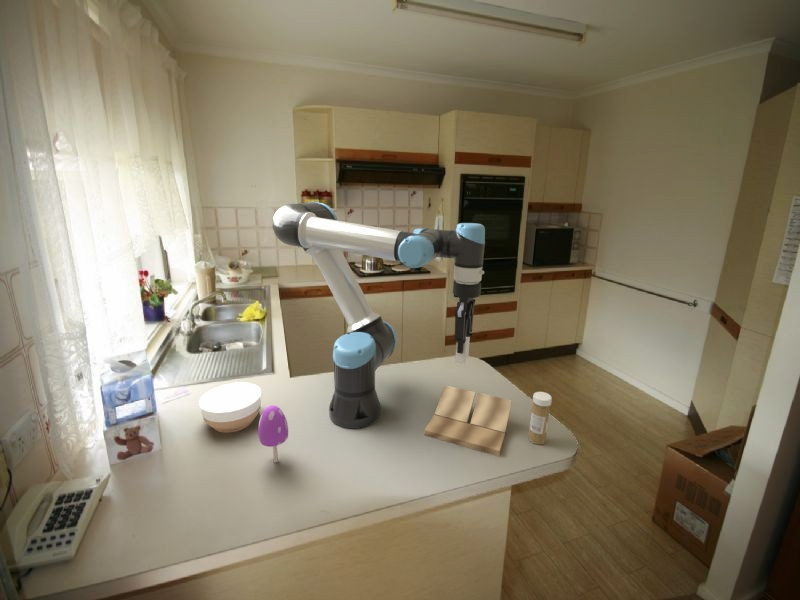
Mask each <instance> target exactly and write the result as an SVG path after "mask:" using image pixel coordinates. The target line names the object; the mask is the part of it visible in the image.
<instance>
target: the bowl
mask: <svg viewBox="0 0 800 600" xmlns="http://www.w3.org/2000/svg"><path fill="white" fill-rule="evenodd" d="M261 396H262V389H261V387H259V386H258V385H256V384H253V383H251V382H240V381H239V382H238V381H237V382H231V383H226V384H222V385H219V386H216V387H214V388H211V389H210V390H208V391H206V392H204V394H202V396H201V397H200V399H198V400H199V401H198V407H199V408H200V409H201V412H200V413H201V416H202V418H203V421H204V422H205V423H206V424H207V425H208V426H209V427H211V428H213V429H214V430H215V431H216V432H218V433H227V434H229V433H235V432H238V431H240V430H241V431H242V430H244V429H245V428H247V427H248V426H250V425H251V424H252V423H253V422H254V419H255V418H256V417H257V415H258V414H259V412H260V410H261V405H262V400H261V399H262V397H261Z"/></svg>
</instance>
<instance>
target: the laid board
mask: <svg viewBox="0 0 800 600" xmlns="http://www.w3.org/2000/svg"><path fill="white" fill-rule="evenodd" d="M423 435H424V436H426V437H430V438H433V439H437V440H440V441H444V442H448V443H450V444H454V445H459V446H460V447H461V446H462V447H466V448H468V449H472V450H476V451H479V452H481V453H482V452H483V453H486V454H490V455H494V456H497V457H500V454H501V451H502V447H503V443H504V440H505V437H506V432H505V433H503V432H499V431H495V430H491V429H487V428H483V427H480V426H476V425H472V424H470V423H464V422H460V421H456V420H453V419H449V418H445V417H441V416H437V415H435V414H433V416H432V417H431V419H430V421H429V422H428V424H427V425H426V427H425V428H424V432H423Z"/></svg>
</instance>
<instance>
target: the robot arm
mask: <svg viewBox="0 0 800 600" xmlns="http://www.w3.org/2000/svg"><path fill="white" fill-rule="evenodd" d="M271 224H272V230H273V234H274V235H275V236H276V238H277V239H278V240H279V241H280V242H282V243H284V244H285V245H288V246H292V247H298V248H302V249H303V251H304V253H305V254H307V255H309V256H311V257H313V259H314V261H315V263H316V265H317V267H318V269H319V270H320V273H321V275H322V276H323V278H324V280H325V282H326V284H327V286H328V288H329V290H330V293H331V294H332V296H333V297H334V299H335V302H336V304H337V305H338V308H339V310H340V311H341V313H342V315H343V316H344V319H345V321H346V322H347V325H348V327H347V331H346V333H345V334H343V335H340V336H339V337H338V338H337V339H336V340H335V342H334V344H333V351H332V360H333V361H332V362H333V381H334V383H333V384H334V386H333V387H334V392H333V395H332V397H331V400H330V404H329V407H328V414H329V419H330V421H331V422H332V423H333V424H335V426H338V427H341V428H346V429H361V428H365V427H367V426H370V425H372V424H375V423H376V422H377V421H378V420H379V419H380V417H381V415H382V405H381V402H380V399H379V395H378V394H377V390H376V370H377V369H378V368H379V367H380V366H381V365H382V364H384V362H385V361H386V360H387V359H388V358H390V357H391V356H392V354H393V352H394V351H395V349H396V347H397V344H398V336H397V333H396V330H395V328H394V327H393V326H392V325H391V324H390V322H389V323H388V322H386V320H383V318H382V315H380V314H379V313H376V312H374V311H373V309H372V308H371V306H370V304H369V301H368V300H367V298H366V295H365V293H364V291H363V290H362V287H361V286H360V284H359V282H358V280H357V278H356V277H355V275H354V272H353V270H352V268H351V266H350V265H349V263H348V261H347V259H346V256H345V255H344V252H347V253H352V254H357V255H363V256H367V257H368V256H369V257H373V258H378V259H379V258H380V259H383V260H389V261H394V262H399V263H402V264H403V266H406V267H407V268H410V269H417V268H422V267H424V266H426V265H428V264H429V263H430V262H431V261H433V260H434V259H436V258H442V259H443V258H444V259H454V266H453V267H454V268H453V280H454V281H453V283H452V284H453V285H452V294H453V295H454V296H456V297H458V301H457V304H456V309H455V310H454V316H455V317H454V318H455V319H454V338H453V341H454V342H456V343H455V344H456V345H455V356H454V357H455V359H454V362H455V363H458V364H464V365H465V364H466V359H469V356H470V355H469V354H470V353H469V352H470V351H469V350H470V339H471V337H473V336H474V333H472V332H473V322H474V314H475V313H474V312H475V306H476V305H475V304H476V301H477V300H476V298H478V297H480V296H481V292H482V283H481V281H482V278H483V277H482V276H483V275H485V271H484V270H483V267H484V266H483V265H484V254H485V245H486V241H485V240H486V237H485V236H486V229H485V226H484V225H483V224H481V223H474V222H461V223H458V224H456V228H455V229H453V230H452V229H450V230H449V229H448V230H447V229H435V228H428V227H425V228H415V229H414V230H413V232H410V231H403V230H397V229H391V228H384V227H378V226H373V225H367V224H361V223H356V222H355V223H354V222H347V221H341V220H338V217H337V215H336V213H335V211H334V210H333V209H332V208H331V207H330V206H328V204H325V203H322V202H317V201H308V202H300V203H288V204H285V205H282V206H281V207H279V208H278V209H277V210H276V212H275V213H274V216H273V217H272V223H271Z"/></svg>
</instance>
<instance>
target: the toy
mask: <svg viewBox="0 0 800 600" xmlns="http://www.w3.org/2000/svg"><path fill="white" fill-rule="evenodd" d="M257 433H258V441H259V442H260V444H261V445H262V446H264V447H269V448H270V447H271V448H272V455H273V462H274V463H276V464H277V463H278V462H279V454H278V446H279V445H282V444H283V443H285V442H286V441H287V439H288V438H289V425H288V421H287V418H286V416H285V413H284V412H283V410H282V409H281V408H280V407H278V406H277V405H273V404H271V405H269V406H267V407H265V409H264V410H263V411H262V413H261V415H260V417H259V422H258V432H257Z"/></svg>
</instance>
